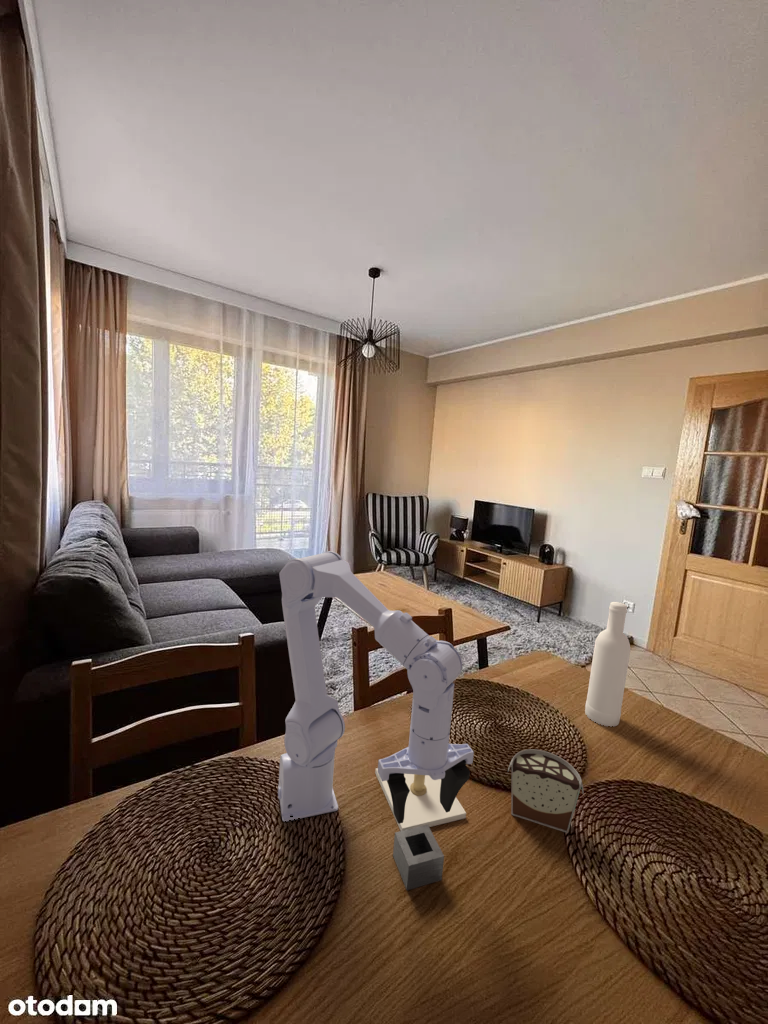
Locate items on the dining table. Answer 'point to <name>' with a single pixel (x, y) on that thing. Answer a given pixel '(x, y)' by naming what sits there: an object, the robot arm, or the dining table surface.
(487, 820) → the dining table surface
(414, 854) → the collar
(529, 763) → the food container
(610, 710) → the bottle
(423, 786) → the shaft board
